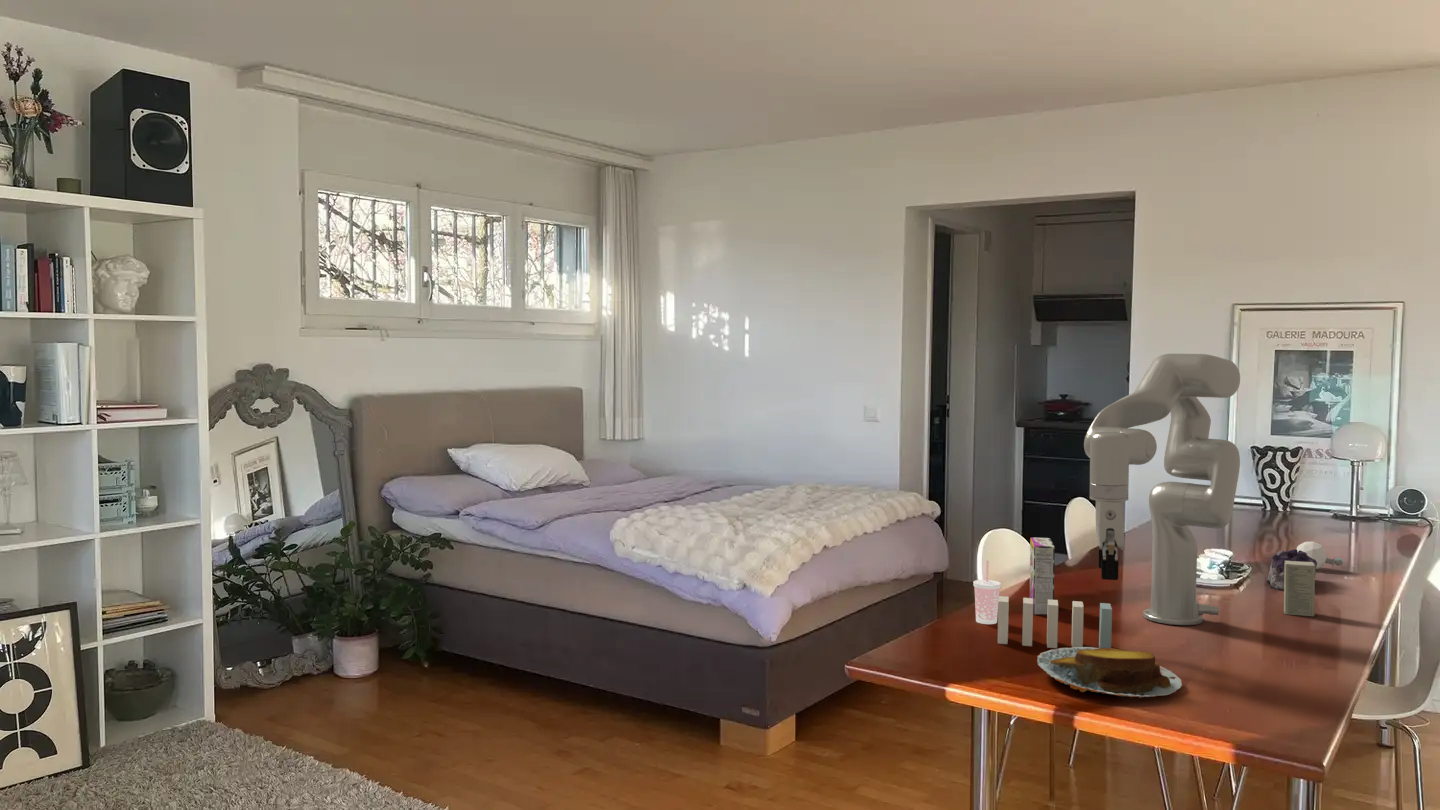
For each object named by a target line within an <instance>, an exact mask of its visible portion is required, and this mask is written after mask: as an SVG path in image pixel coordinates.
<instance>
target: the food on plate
mask: <svg viewBox="0 0 1440 810" xmlns="http://www.w3.org/2000/svg"><path fill="white" fill-rule="evenodd" d="M1036 657H1037V660H1036V662H1037V665H1038V666H1039V667H1040V669H1041V670H1043V671H1044V672H1046V674H1047V675H1049V677H1050V678H1054V679H1055V681H1058V682H1059V683H1061V684H1064V685H1068V686H1070V689H1073V690H1076V691H1077V690H1079V692H1081V693H1085V692H1086V691H1090V692H1094V693H1099V694H1102V695H1104V694H1105V695H1106V694H1108V695H1111V696H1117V697H1125V698H1127V697H1128V698H1139V699H1140V698H1144V697H1147V698H1149V697H1153V698H1155V697H1157V696H1165V697H1167V696H1168V695H1171V694H1173V693H1176V692H1177V691H1178V690H1179V689H1181V687H1183V686H1184V685H1183V680H1182V679H1181V678H1180V677H1179V676H1178V675H1176V673H1173V671H1172V670H1169V669H1167V668H1165V667H1164V666H1161V665H1160V664H1159V663H1158V662H1156V656H1155V655H1154V654H1153V653H1152V652H1148V651H1138V650H1123V649H1118V648H1114V647H1111V648H1100V647H1094V646H1093V647H1092V646H1091V647H1090V646H1083V647H1072V646H1071V647H1059V648H1058V647H1057V648H1053V649H1050V650H1047V651H1043V652H1040V653H1039V655H1038V654H1037V655H1036ZM1173 677H1174V678H1173Z"/></svg>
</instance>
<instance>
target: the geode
mask: <svg viewBox="0 0 1440 810" xmlns="http://www.w3.org/2000/svg"><path fill="white" fill-rule="evenodd" d="M1285 560H1286V561H1302V562H1313V563H1314V564H1315V576H1316V574H1317V569H1316V565H1317V562H1316V560H1315V559H1312V558H1311V557H1309V556H1308V555H1307V553H1306V552H1303V551H1300V550H1299V551H1298V552H1297V548H1296V549H1291V550H1286V551H1285V550H1279V551H1277V553H1275V554H1274V555H1272V557H1271V563H1270V567H1269V572H1268V575H1267V579H1266V583H1269V584H1270V585H1269V587H1270V589H1272V590H1276V591H1279V592H1280V591H1281V592H1284V573H1285Z"/></svg>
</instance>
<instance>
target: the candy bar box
mask: <svg viewBox="0 0 1440 810" xmlns="http://www.w3.org/2000/svg"><path fill="white" fill-rule="evenodd" d="M1029 542H1030V543H1029V598H1033V615H1036V616H1047V611H1048V599H1050V600H1055V568H1056V567H1055V553H1056V551H1055V549H1056V548H1055V544H1054V543H1053V541H1052V539H1051V538H1049V537H1030V539H1029Z"/></svg>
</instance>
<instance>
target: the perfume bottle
mask: <svg viewBox="0 0 1440 810" xmlns="http://www.w3.org/2000/svg"><path fill="white" fill-rule="evenodd" d="M1296 549H1297V552H1298V551H1299V550H1300V551H1303V552H1306V553H1307V555H1308V556H1309V557H1311V558H1312V559H1315V560H1316V562H1317V565H1316V570H1319V569H1321V568H1322V567H1324V566H1325V564H1329V565H1331V567H1333V566H1334V565H1336V566H1338V567H1339V566H1342V565H1343V563H1344V562H1343V559H1341V558H1335V557H1334V558H1328V556H1327V551H1326V549H1325V548H1324V547H1323V545H1322V544H1320V543H1317V542H1316V541H1304V542H1302V543H1300V544H1298V545H1297V546H1296Z"/></svg>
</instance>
